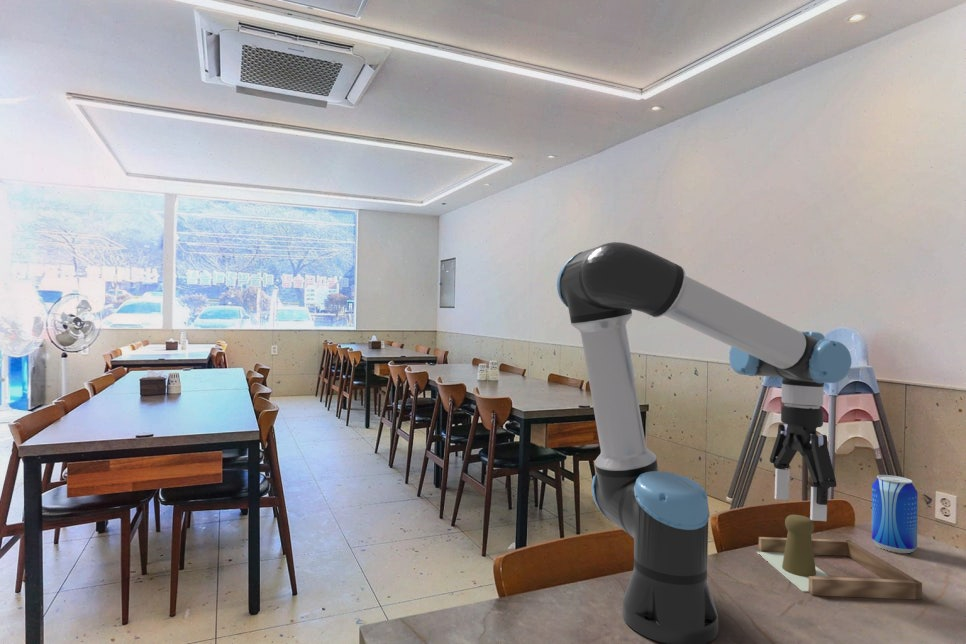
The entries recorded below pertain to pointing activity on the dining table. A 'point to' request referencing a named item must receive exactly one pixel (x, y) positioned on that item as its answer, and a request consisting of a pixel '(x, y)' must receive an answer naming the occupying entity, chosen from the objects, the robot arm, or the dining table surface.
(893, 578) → the bay
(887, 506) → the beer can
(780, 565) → the front pad
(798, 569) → the olive chess pawn
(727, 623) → the dining table surface
